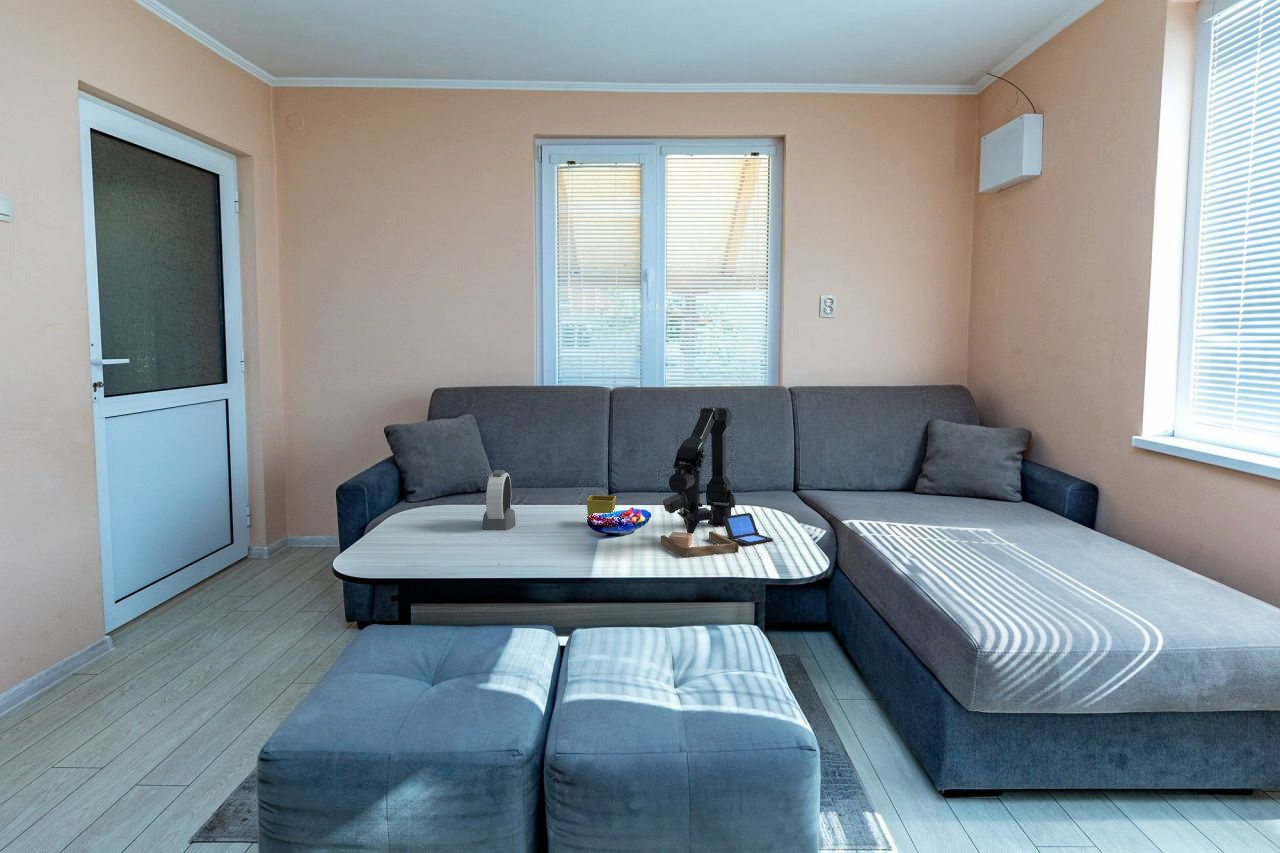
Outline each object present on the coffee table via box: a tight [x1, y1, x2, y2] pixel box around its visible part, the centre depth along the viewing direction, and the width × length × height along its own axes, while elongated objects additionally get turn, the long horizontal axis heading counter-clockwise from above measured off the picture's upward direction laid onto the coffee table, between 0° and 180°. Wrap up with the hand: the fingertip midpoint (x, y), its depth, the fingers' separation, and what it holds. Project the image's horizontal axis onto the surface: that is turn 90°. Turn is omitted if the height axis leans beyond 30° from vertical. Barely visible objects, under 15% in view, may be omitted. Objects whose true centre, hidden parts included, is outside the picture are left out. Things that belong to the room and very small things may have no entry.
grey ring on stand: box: [482, 469, 516, 531], centre depth 253 cm, size 16×10×18 cm, turn 179°
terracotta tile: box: [668, 531, 693, 548], centre depth 234 cm, size 6×6×3 cm
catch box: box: [660, 530, 740, 559], centre depth 230 cm, size 17×16×2 cm
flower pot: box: [586, 494, 617, 518], centre depth 257 cm, size 9×9×9 cm
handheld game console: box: [723, 512, 774, 547], centre depth 240 cm, size 12×11×7 cm
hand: (689, 536), depth 237 cm, fingers closed
